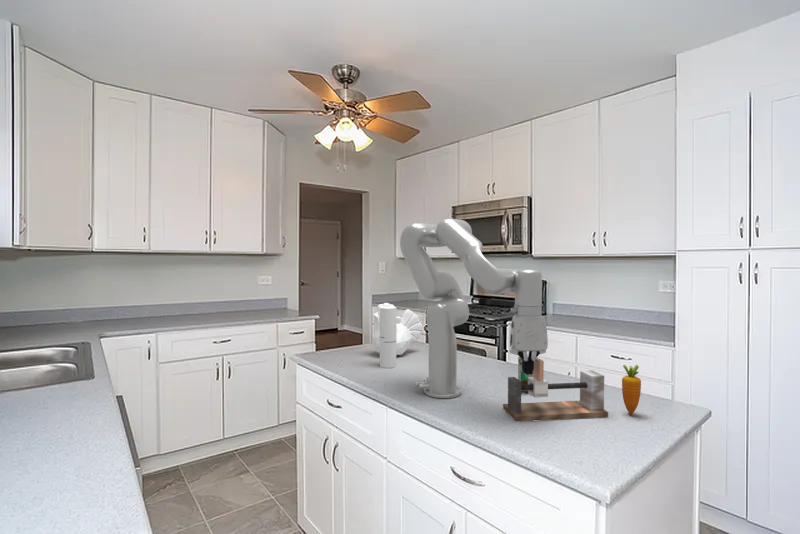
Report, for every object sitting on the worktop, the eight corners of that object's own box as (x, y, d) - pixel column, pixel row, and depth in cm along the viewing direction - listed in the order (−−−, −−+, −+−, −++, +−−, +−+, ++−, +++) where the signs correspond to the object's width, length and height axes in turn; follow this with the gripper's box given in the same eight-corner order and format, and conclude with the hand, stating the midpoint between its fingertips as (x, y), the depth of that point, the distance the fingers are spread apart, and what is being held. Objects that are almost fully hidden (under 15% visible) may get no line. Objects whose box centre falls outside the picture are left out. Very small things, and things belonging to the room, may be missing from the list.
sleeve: (534, 397, 120) (535, 361, 120) (527, 392, 125) (528, 357, 124) (547, 396, 120) (548, 360, 120) (540, 391, 125) (540, 357, 125)
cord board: (516, 421, 117) (516, 381, 116) (503, 408, 126) (503, 371, 126) (608, 417, 120) (608, 377, 120) (588, 404, 130) (588, 368, 130)
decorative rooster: (374, 359, 187) (375, 305, 186) (370, 352, 202) (370, 301, 201) (428, 357, 192) (428, 304, 191) (419, 349, 207) (419, 300, 207)
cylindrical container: (386, 362, 181) (386, 306, 181) (399, 365, 177) (399, 307, 176) (376, 366, 175) (376, 307, 175) (389, 369, 171) (389, 309, 171)
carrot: (617, 412, 124) (618, 363, 123) (629, 410, 125) (629, 361, 125) (632, 418, 119) (633, 367, 119) (644, 416, 121) (645, 365, 121)
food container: (539, 395, 139) (540, 366, 139) (520, 394, 140) (521, 365, 140) (535, 384, 151) (535, 357, 151) (517, 383, 152) (518, 356, 152)
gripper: (508, 313, 117) (508, 377, 117) (558, 312, 119) (558, 376, 119) (499, 310, 124) (498, 370, 125) (546, 309, 126) (545, 369, 126)
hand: (527, 373), depth 122 cm, fingers closed
